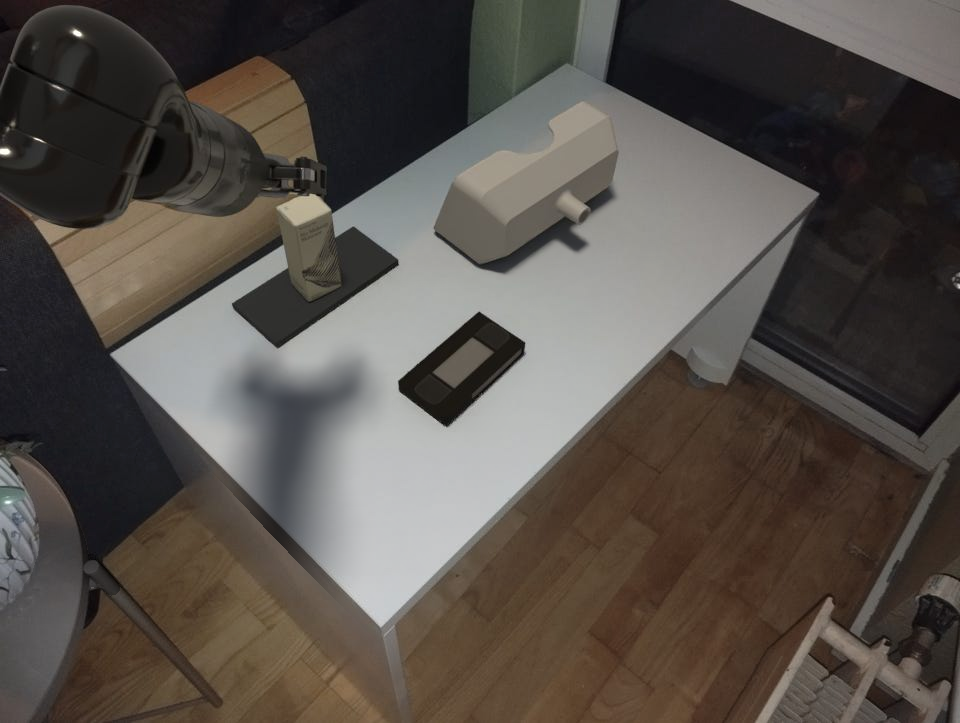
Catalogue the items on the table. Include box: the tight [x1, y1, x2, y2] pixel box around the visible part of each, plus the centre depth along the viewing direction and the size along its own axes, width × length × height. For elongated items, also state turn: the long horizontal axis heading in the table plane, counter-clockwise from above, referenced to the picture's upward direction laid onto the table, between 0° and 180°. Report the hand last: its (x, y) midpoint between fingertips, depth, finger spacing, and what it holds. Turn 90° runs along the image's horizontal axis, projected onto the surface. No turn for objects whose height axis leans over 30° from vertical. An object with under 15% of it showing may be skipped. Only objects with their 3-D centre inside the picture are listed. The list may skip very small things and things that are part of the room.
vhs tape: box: [397, 311, 526, 427], centre depth 91 cm, size 8×14×2 cm, turn 139°
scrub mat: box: [231, 226, 400, 349], centre depth 99 cm, size 20×9×1 cm, turn 137°
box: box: [275, 194, 342, 302], centre depth 93 cm, size 5×4×13 cm
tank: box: [432, 100, 620, 265], centre depth 103 cm, size 25×16×12 cm, turn 134°
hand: (260, 182), depth 71 cm, fingers open, 8 cm apart
